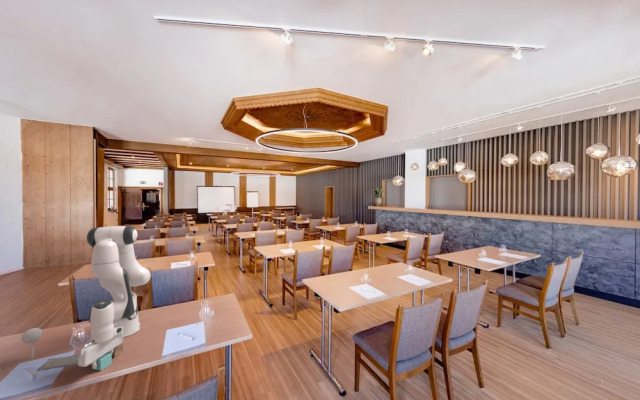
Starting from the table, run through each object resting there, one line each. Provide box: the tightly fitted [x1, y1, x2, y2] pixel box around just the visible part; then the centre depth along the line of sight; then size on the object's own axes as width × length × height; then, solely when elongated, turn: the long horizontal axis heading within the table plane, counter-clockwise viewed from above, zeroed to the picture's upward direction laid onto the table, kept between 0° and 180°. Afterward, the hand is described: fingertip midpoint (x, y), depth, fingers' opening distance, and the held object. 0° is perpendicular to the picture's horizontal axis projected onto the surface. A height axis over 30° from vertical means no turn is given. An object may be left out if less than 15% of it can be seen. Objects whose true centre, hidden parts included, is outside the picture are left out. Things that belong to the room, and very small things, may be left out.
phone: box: [37, 354, 79, 371], centre depth 125 cm, size 8×16×1 cm, turn 107°
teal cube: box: [95, 353, 113, 372], centre depth 122 cm, size 5×5×5 cm
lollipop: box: [21, 327, 44, 359], centre depth 128 cm, size 7×7×15 cm
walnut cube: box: [107, 342, 124, 358], centre depth 132 cm, size 5×5×5 cm
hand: (102, 363), depth 122 cm, fingers closed on teal cube, 5 cm apart
